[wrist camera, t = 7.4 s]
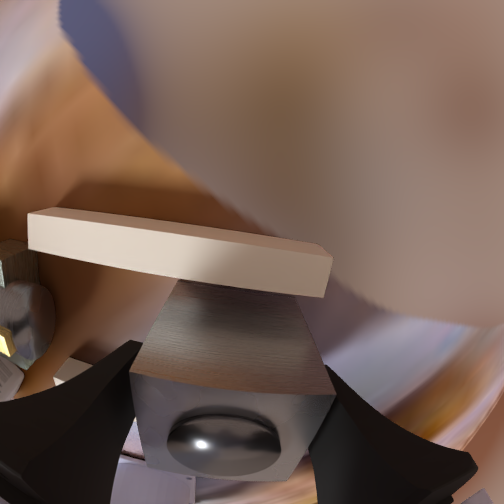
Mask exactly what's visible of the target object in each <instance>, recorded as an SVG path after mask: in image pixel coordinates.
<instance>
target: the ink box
mask: <svg viewBox="0 0 504 504" xmlns="http://www.w3.org/2000/svg"><path fill="white" fill-rule="evenodd" d="M23 378H24V374H23V372H22V371H21V370H20V369H19V368H18V367H17V366H16V365H15V364H14V363H12V362H10V361H9V360H7V359H5V358H3V357H2V356H0V402H3V401H9V400H11V399H12V398H13V397H14V395H15V394H16V392H17V391H18V389H19V387H20V385H21V382H22V380H23Z"/></svg>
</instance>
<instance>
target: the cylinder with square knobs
mask: <svg viewBox="0 0 504 504" xmlns="http://www.w3.org/2000/svg"><path fill="white" fill-rule="evenodd" d="M55 321H56V312H55V305H54V301H53V298H52V296H51V294H50V292H49V291H48V290H47V289H46V288H45V287H43V286H41V285H40V280H39V271H38V259H37V251H36V250H31V249H29V248H28V243H26V242H22V241H17V240H13V239H8V240H5V241H3V242H0V356H2V357H3V358H5V359H7V360H9V361H10V362H12V363H14V364H16V365H18V366H19V367H21V368H23V369H25V370H27V369H28V368H29V367H30V366H31V365H32V364H33V363H34V362H35V360H36V359H38V358H40V357H41V356H42V355H43V354H44V353H45V352H46V351H47V349H48V347H49V345H50V344H51V341H52V338H53V334H54V330H55Z"/></svg>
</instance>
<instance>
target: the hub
mask: <svg viewBox="0 0 504 504" xmlns="http://www.w3.org/2000/svg"><path fill="white" fill-rule="evenodd" d="M129 376H130V384H131V391H132V397H133V404H134V410H135V415H136V421H137V426H138V431H139V436H140V440H141V445H142V449H143V453H144V457H145V461H146V465H147V467H149V468H154V469H158V470H163V471H167V472H172V473H178V474H183V475H190V476H196V477H204V478H212V479H222V480H235V481H287V480H288V478H289V477H290V475H291V474H292V472H293V471H294V469H295V468H296V466H297V465H298V463H299V461H300V460H301V458H302V457H303V455H304V453H305V452H306V450H307V448H308V447H309V445H310V443H311V442H312V440H313V438H314V436H315V435H316V433H317V431H318V429H319V428H320V426H321V424H322V422H323V420H324V418H325V416H326V415H327V413H328V411H329V409H330V407H331V405H332V403H333V401H334V399H335V397H336V395H337V394H336V392H335V389H334V387H333V385H332V382H331V380H330V377H329V375H328V373H327V370H326V368H325V366H324V363H323V361H322V359H321V356H320V354H319V352H318V349H317V347H316V345H315V342H314V340H313V338H312V336H311V333H310V331H309V329H308V326H307V324H306V322H305V320H304V317H303V315H302V313H301V310H300V308H299V306H298V304H297V301H296V299H295V297H287V296H279V295H272V294H264V293H256V292H249V291H242V290H235V289H228V288H221V287H215V286H208V285H202V284H196V283H190V282H183V281H177V283H176V285H175V287H174V288H173V290H172V292H171V294H170V296H169V297H168V299H167V301H166V303H165V304H164V306H163V308H162V310H161V312H160V313H159V315H158V317H157V319H156V321H155V323H154V324H153V326H152V328H151V330H150V332H149V334H148V336H147V337H146V339H145V341H144V343H143V345H142V347H141V349H140V351H139V353H138V355H137V356H136V358H135V360H134V362H133V364H132V366H131V368H130V370H129Z"/></svg>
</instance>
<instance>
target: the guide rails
mask: <svg viewBox="0 0 504 504" xmlns="http://www.w3.org/2000/svg"><path fill="white" fill-rule="evenodd" d="M28 248H29V249H31V250H36V251H40V252H44V253H49V254H53V255H58V256H63V257H67V258H72V259H77V260H82V261H86V262H91V263H96V264H102V265H107V266H112V267H117V268H122V269H128V270H133V271H139V272H144V273H150V274H156V275H162V276H168V277H174V278H180V279H186V280H192V281H199V282H205V283H212V284H218V285H225V286H232V287H239V288H247V289H254V290H261V291H269V292H277V293H285V294H293V295H302V296H310V297H319V298H324V294H325V290H326V287H327V283H328V279H329V275H330V271H331V267H332V263H333V259H334V257H332V256H331V255H330V254H329V253H328V252H327V251H326V250H324V249H323V248H322V247H321V246H320V245H319V244H315V243H309V242H303V241H297V240H291V239H284V238H278V237H272V236H265V235H259V234H252V233H246V232H239V231H233V230H226V229H219V228H212V227H206V226H199V225H192V224H184V223H177V222H170V221H163V220H155V219H148V218H140V217H133V216H125V215H117V214H109V213H101V212H93V211H85V210H76V209H68V208H59V207H52V208H47V209H43V210H39V211H35V212H31V213H28ZM92 366H93V365H91V364H88V363H85V362H82V361H79V360H76V359H73V358H70V357H68V359H67V360H66V361H65V362H64V364H63V365H62V366H61V367H60V369H59V370H58V371H57V372H56V374H55V375H54V376H53V378H54V381H55V384H56V386H57V385H59V384H61V383H64V382H66V381H68V380H70V379H71V378H73V377H75V376H77V375H78V374H80V373H82V372H83V371H85V370H87V369H88V368H90V367H92ZM134 422H137V421H136V417H135V419H134Z"/></svg>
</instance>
